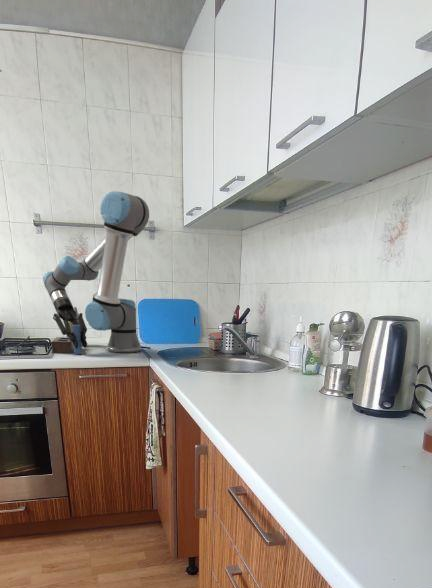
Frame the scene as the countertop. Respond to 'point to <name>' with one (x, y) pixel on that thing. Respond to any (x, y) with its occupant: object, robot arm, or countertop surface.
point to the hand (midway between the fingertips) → (81, 346)
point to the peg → (77, 338)
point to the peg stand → (62, 345)
